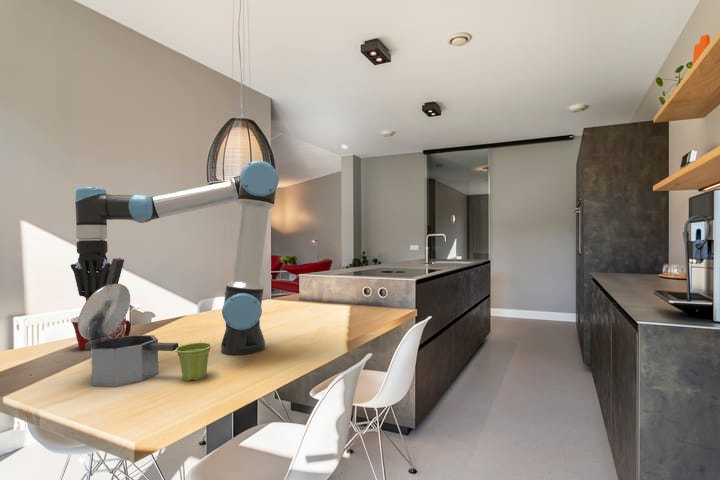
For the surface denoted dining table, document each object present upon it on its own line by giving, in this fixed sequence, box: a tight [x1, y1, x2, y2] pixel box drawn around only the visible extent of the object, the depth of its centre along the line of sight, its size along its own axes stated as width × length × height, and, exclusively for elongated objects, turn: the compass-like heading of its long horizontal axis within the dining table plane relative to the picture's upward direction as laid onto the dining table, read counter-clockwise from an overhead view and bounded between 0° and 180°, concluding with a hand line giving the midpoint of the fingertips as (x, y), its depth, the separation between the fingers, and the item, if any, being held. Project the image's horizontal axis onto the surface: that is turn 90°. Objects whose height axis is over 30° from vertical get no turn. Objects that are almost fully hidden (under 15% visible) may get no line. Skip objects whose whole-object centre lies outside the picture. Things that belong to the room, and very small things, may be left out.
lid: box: [78, 257, 131, 344], centre depth 114 cm, size 25×17×3 cm
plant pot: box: [175, 342, 212, 382], centre depth 111 cm, size 9×9×9 cm
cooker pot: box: [85, 334, 179, 388], centre depth 113 cm, size 28×16×10 cm, turn 81°
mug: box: [106, 316, 132, 340], centre depth 132 cm, size 13×9×14 cm
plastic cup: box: [69, 315, 91, 351], centre depth 145 cm, size 11×11×12 cm
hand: (94, 320), depth 115 cm, fingers closed
